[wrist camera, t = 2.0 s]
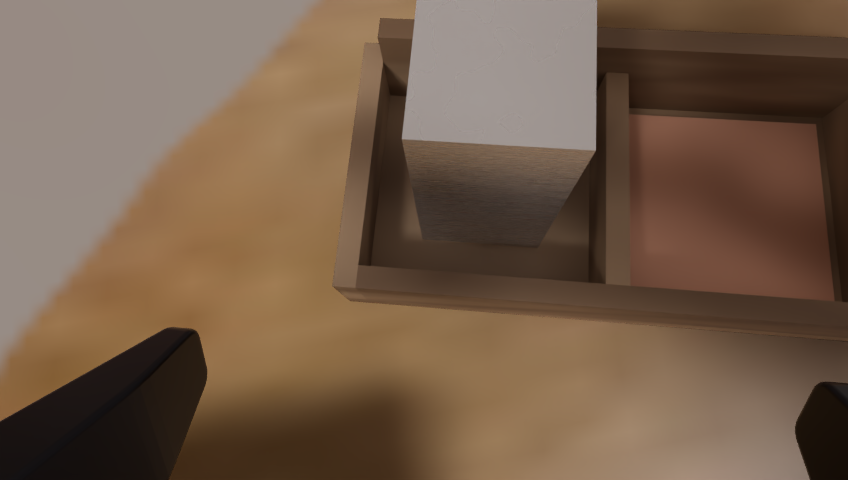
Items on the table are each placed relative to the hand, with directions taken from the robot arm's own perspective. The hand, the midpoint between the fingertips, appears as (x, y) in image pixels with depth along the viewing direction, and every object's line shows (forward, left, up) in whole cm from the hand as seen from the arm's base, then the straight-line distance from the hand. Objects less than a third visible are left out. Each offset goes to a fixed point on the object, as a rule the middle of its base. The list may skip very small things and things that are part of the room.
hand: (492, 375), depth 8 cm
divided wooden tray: (+8, -5, -13) cm, 16 cm away
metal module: (+8, 0, -12) cm, 15 cm away
